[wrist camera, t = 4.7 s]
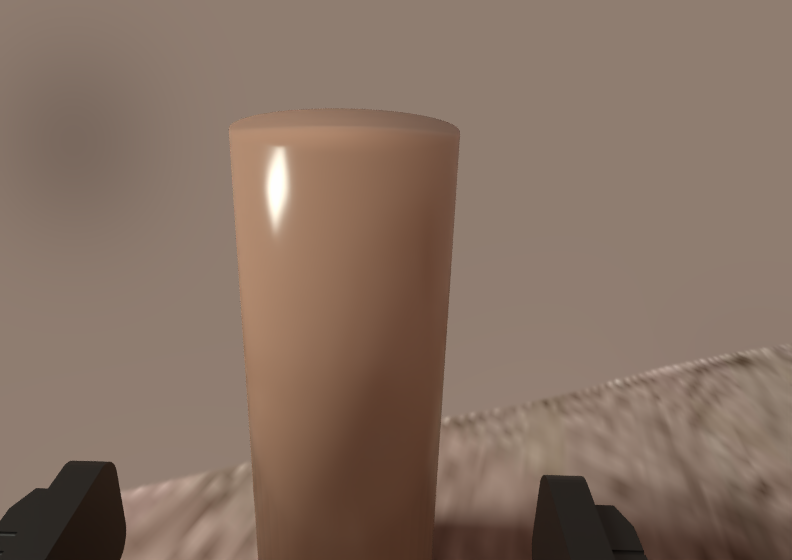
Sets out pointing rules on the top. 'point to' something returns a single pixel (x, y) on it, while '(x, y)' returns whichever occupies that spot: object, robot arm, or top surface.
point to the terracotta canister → (344, 325)
